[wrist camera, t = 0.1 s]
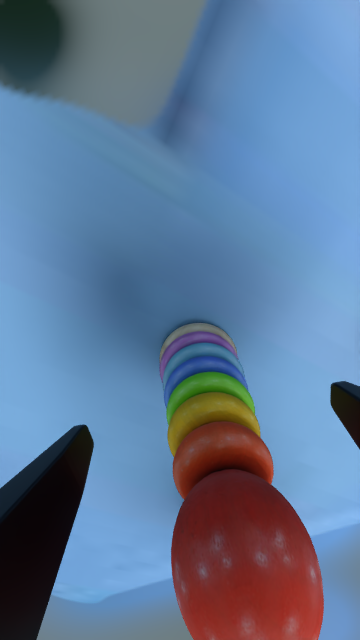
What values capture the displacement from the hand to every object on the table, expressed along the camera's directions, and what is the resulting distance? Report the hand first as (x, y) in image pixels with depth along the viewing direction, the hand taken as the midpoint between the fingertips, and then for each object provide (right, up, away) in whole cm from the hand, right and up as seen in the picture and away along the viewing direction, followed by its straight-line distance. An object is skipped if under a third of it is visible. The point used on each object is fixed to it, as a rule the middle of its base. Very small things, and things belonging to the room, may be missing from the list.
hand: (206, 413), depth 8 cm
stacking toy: (+1, 0, +16) cm, 16 cm away
